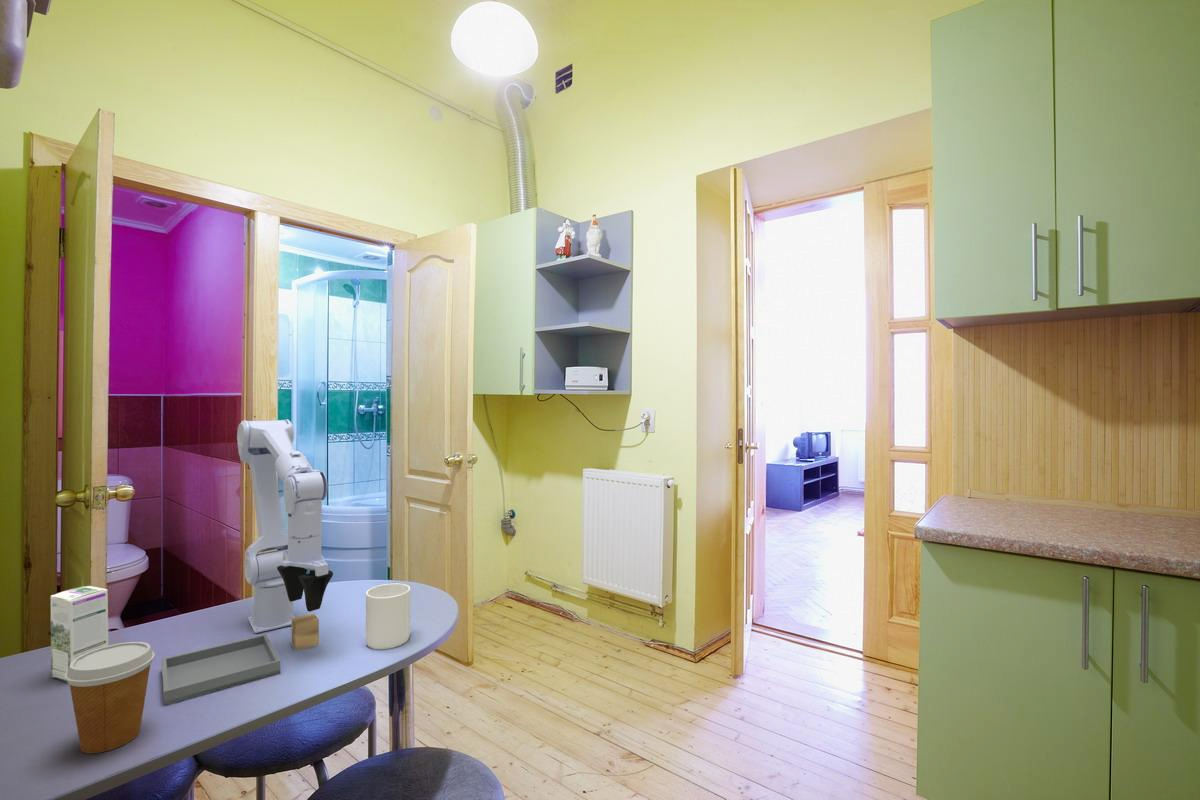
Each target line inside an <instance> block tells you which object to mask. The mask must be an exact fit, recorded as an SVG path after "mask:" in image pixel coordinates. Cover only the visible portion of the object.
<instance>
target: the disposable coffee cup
mask: <svg viewBox="0 0 1200 800" xmlns="http://www.w3.org/2000/svg"><path fill="white" fill-rule="evenodd" d="M155 655H156V654H155V652H154V651H153V650H152V647H151V645H150V644H149V643H147V642H145V641H128V642H120V643H114V644H110V645H108V646H105V647H102V648H99V649H95V650H92V651H90V652H87V653H85V654H83V655H81V656H79V657H77V658H76V659H74V660H73V661H72V662H71V663H70V666H69V669H68V671H67V672H66V673H65V676H64V677H65V679H66V680H67V684H68V685H69V688H70V689H69V690H70V696H71V699H72V700H71V701H72V706H73V712H74V717H75V722H76V728H77V730H76V731H77V733H78V740H79V746H80V751H81V752H83V753H86V754H98V753H104V752H107V751H112V750H114V749H117V748H119V747H122V746H123V745H125V744H128V743H130V742H131V741H133V740H134V739H136V737H138V736H137V735H139V734H140V732H141V727H142V721H143V720H142V719H143V714H144V708H145V702H146V697H147V695H146V694H147V688H148V681H149V675H150V671H151V670H150V669H151V664H152V663H153V660H154V658H155ZM132 739H133V740H132ZM129 741H130V742H129Z"/></svg>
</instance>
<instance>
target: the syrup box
mask: <svg viewBox="0 0 1200 800" xmlns="http://www.w3.org/2000/svg"><path fill="white" fill-rule="evenodd" d="M108 592H109V591H108V589H107V588H103V587H97V586H93V585H85V586H83V585H82V586H79V587H74V588H70V589H67V590H63V591H60V592H57V593H56V594H52V595H50V653H51V654H50V664H51V666H50V667H51V668H50V669H51V671H50V674H51V675H50V677H51V678H53V679H57V680H60V681H63V682H67V680H66V679H65V677H64V676H65V673H66V672H67V671H68V669H69V666H70V663H71V662H72V661H73V660H74V659H76V658H77V657H79V656H81V655H83V654H85V653H87V652H90V651H92V650H95V649H99V648H102V647H105V646H109V605H108V604H109V599H108V598H109V597H108Z"/></svg>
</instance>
